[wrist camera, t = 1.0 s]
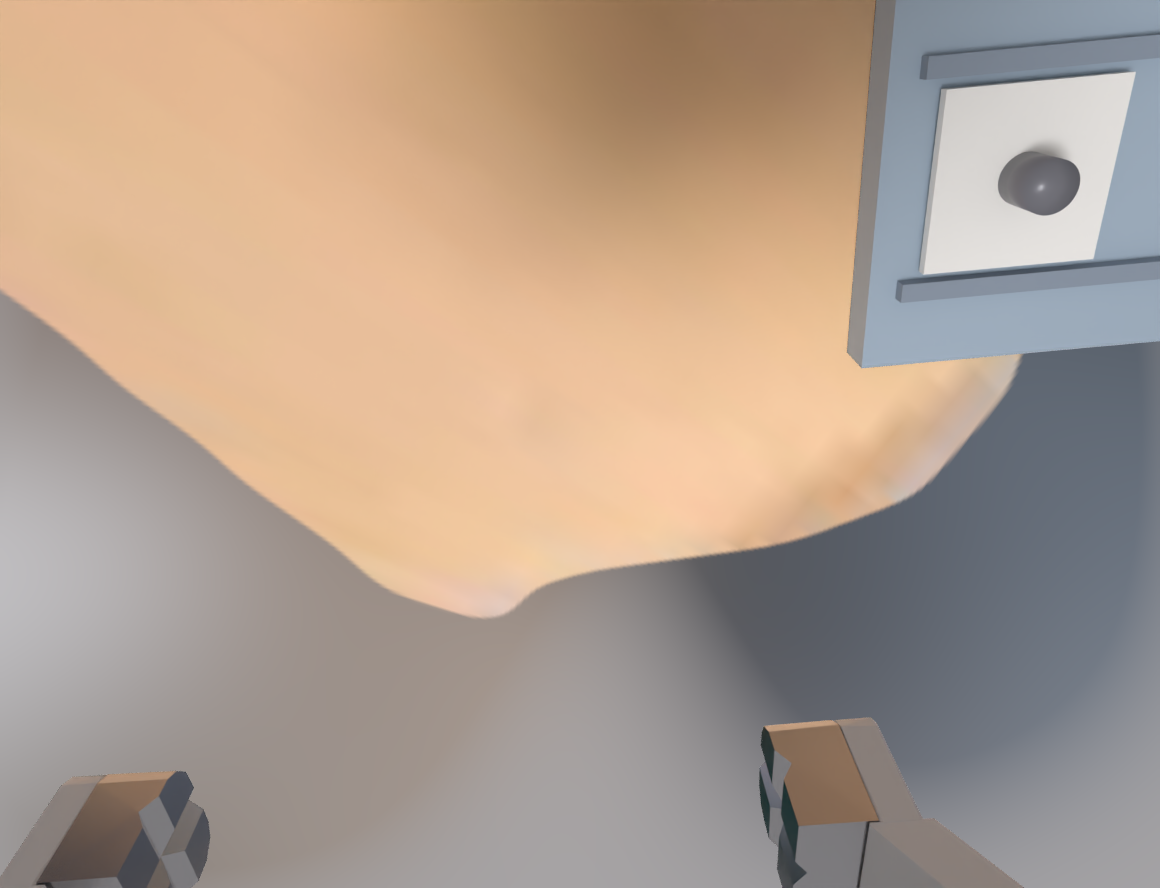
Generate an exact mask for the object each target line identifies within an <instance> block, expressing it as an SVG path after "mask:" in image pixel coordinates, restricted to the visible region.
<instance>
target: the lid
mask: <svg viewBox="0 0 1160 888" xmlns="http://www.w3.org/2000/svg"><path fill="white" fill-rule="evenodd" d="M1135 74H1136V72H1133V71H1124V72H1113V73H1103V74H1092V75H1082V76H1071V77H1060V78H1050V79H1039V80H1028V81H1018V82H1007V83H997V84H986V85H975V86H965V87H954V88H944V89H941V96H940V104H939V112H938V120H937V128H936V136H935V145H934V153H933V161H932V169H931V177H930V185H929V193H928V202H927V210H926V218H925V226H924V234H923V242H922V250H921V258H920V267H919V272H920V273H922V274H923V275H926V274H937V273H947V272H958V271H969V270H980V269H991V268H1002V267H1012V266H1023V265H1034V264H1045V263H1056V262H1066V261H1077V260H1088V259H1093V258H1094V254H1095V250H1096V245H1097V241H1098V236H1099V232H1100V228H1101V223H1102V219H1103V215H1104V210H1105V206H1106V201H1107V197H1108V193H1109V188H1110V184H1111V179H1112V175H1113V171H1114V166H1115V162H1116V158H1117V153H1118V149H1119V144H1120V140H1121V136H1122V131H1123V127H1124V123H1125V118H1126V114H1127V109H1128V105H1129V101H1130V96H1131V92H1132V87H1133V83H1134V79H1135Z"/></svg>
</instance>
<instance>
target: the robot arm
mask: <svg viewBox="0 0 1160 888" xmlns="http://www.w3.org/2000/svg"><path fill="white" fill-rule="evenodd" d="M761 748H762V751H763V755H764V758H765V762H764V763H763V764H762V765H761V767H760V768H759V769H760V771H759V788H760V799H761V807H762V812H763V817H764V821H765V826H766V829H767V833H768V837H769V839H770V840H771V841H772V842H773V843H775V844H776V845H777V846H778V863H777V870H778V874H779V877H780V881H781V885H782V888H1024V887H1022V886H1021V885H1019V884H1018V883H1017V882H1016V881H1015V880H1013V879H1012V878H1011V877H1009V876H1008V875H1007V874H1005V873H1004V872H1003V871H1002V870H1000V869H999V868H998V867H996V866H995V865H994V864H992V863H991V862H990V861H988V860H987V859H986V858H985V857H983V856H982V855H981V854H979V853H978V852H977V851H976V850H974V849H973V848H972V847H970V846H969V845H968V844H966V843H965V842H964V841H963V840H961V839H960V838H959V837H957V836H956V835H955V834H953V833H952V832H951V831H950V830H948V829H947V828H946V827H944V826H943V825H942V824H940V823H939V822H938V821H937V820H935V819H923V818H922V816H921V814H920V812H919V810H918V808H917V806H916V804H915V802H914V800H913V798H912V795H911V793H910V791H909V789H908V787H907V785H906V783H905V781H904V779H903V777H902V775H901V773H900V771H899V768H898V766H897V764H896V762H895V760H894V758H893V756H892V754H891V752H890V750H889V748H888V746H887V744H886V742H885V740H884V737H883V735H882V733H881V731H880V729H879V727H878V725H877V723H876V722H875V721H874V720H873V719H871V718H858V719H845V720H835V721H832V720H827V721H817V722H805V723H793V724H782V725H771V726H764V727H763V730H762V734H761ZM193 789H194V787H193V785H192V783H191V781H190V779H189V777H188V775H187V773H186V772H183V771H170V772H148V773H128V774H108V775H97V776H79V777H72V778H71V779H70V780H68V781H67V782H65V783H64V784H63V785H61V787H60V788H59V789H58V791H57V792H56V794H55V795H54V797H53V798H52V800H51V801H50V803H49V804H48V806H47V807H46V809H45V810H44V812H43V813H42V815H41V816H40V818H39V819H38V821H37V822H36V824H35V825H34V827H33V828H32V830H31V831H30V833H29V835H28V836H27V837H26V839H25V840H24V842H23V843H22V845H21V847H20V848H19V850H18V851H17V853H16V854H15V856H14V857H13V859H12V860H11V862H10V863H9V865H8V866H7V868H6V869H5V871H4V872H3V874H2V875H1V877H0V888H191V887H192V886H193V885H195V883H197V882H198V881H199V878H200V876H201V873H202V871H203V868H204V866H205V863H206V861H207V855H208V849H209V842H210V830H209V824H208V823H209V822H208V819H207V817H206V815H205V812H204V809H202V808H201V807H199V806H198V805H196V804H195V803H193V802H192V801H190V800H189V797H190V795H191V793H192V791H193Z"/></svg>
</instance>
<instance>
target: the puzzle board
mask: <svg viewBox="0 0 1160 888" xmlns="http://www.w3.org/2000/svg"><path fill="white" fill-rule="evenodd" d="M1124 71H1133V72H1136V74H1135V79H1134V83H1133V87H1132V92H1131V96H1130V101H1129V105H1128V109H1127V114H1126V118H1125V123H1124V127H1123V131H1122V136H1121V140H1120V144H1119V149H1118V153H1117V158H1116V162H1115V166H1114V171H1113V175H1112V179H1111V184H1110V188H1109V193H1108V197H1107V201H1106V206H1105V210H1104V215H1103V219H1102V223H1101V228H1100V232H1099V236H1098V241H1097V245H1096V250H1095V254H1094V258H1093V259H1088V260H1077V261H1066V262H1056V263H1045V264H1034V265H1023V266H1012V267H1002V268H991V269H980V270H969V271H958V272H947V273H937V274H926V275H923V274H922V273H920V272H919V267H920V258H921V250H922V242H923V234H924V226H925V218H926V210H927V202H928V193H929V185H930V177H931V169H932V161H933V153H934V145H935V136H936V128H937V120H938V112H939V104H940V96H941V89H944V88H954V87H965V86H975V85H986V84H997V83H1007V82H1018V81H1028V80H1039V79H1050V78H1060V77H1071V76H1082V75H1092V74H1103V73H1113V72H1124ZM1152 341H1153V342H1154V341H1160V0H876V8H875V20H874V32H873V44H872V56H871V68H870V80H869V92H868V104H867V117H866V129H865V141H864V153H863V165H862V177H861V189H860V201H859V213H858V225H857V237H856V249H855V261H854V273H853V285H852V298H851V310H850V322H849V334H848V346H847V353H848V354H849V355H850V356H851V357H852V358H853V359H854V360H855V362H856V363H857V364H858V365H859V366H860V367H861V368H869V367H880V366H891V365H902V364H913V363H924V362H935V361H946V360H957V359H968V358H979V357H990V356H1001V355H1011V354H1022V353H1033V352H1044V351H1054V350H1066V349H1077V348H1088V347H1098V346H1110V345H1121V344H1132V343H1143V342H1152Z"/></svg>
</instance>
